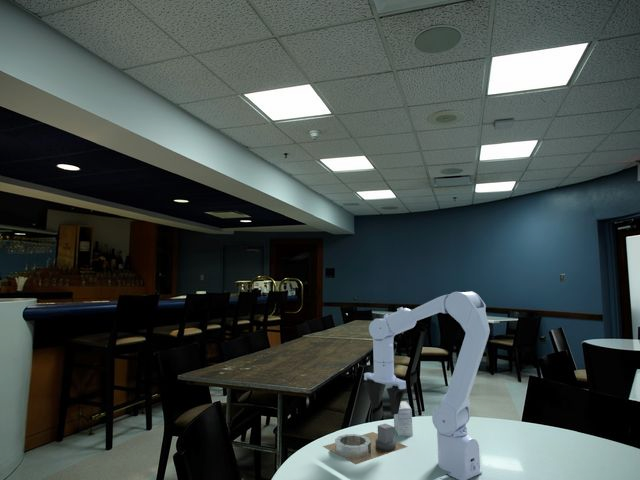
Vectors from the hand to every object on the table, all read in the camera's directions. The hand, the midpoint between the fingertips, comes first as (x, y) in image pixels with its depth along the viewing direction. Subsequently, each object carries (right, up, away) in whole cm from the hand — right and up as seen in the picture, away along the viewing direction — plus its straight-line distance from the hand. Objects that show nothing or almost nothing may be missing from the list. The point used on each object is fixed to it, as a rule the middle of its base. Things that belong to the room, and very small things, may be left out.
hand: (384, 410), depth 112 cm
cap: (0, -9, -2) cm, 10 cm away
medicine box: (+7, -12, +10) cm, 17 cm away
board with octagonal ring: (-6, -10, -1) cm, 12 cm away
